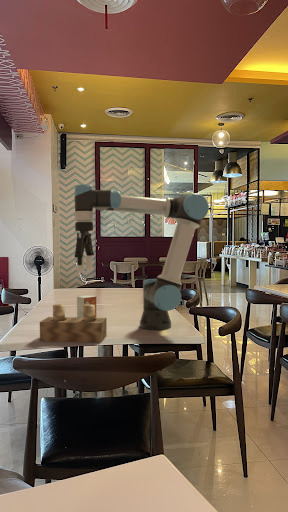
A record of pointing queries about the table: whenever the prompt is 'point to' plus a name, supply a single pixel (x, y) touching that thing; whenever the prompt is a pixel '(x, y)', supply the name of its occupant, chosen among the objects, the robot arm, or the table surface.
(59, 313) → the peg
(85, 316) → the peg
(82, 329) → the socket block
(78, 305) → the small box
